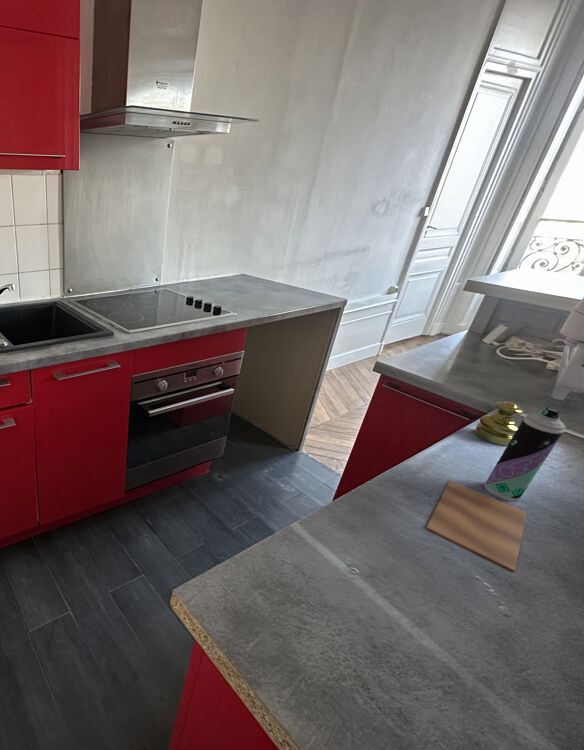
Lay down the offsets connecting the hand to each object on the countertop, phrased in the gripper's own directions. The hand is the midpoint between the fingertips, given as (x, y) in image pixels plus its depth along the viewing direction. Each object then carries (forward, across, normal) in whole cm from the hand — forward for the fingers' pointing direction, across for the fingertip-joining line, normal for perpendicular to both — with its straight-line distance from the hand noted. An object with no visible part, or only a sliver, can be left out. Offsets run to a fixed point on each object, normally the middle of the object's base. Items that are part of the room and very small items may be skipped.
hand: (557, 396), depth 81 cm
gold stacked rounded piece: (+20, +18, +4) cm, 28 cm away
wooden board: (+20, -22, +2) cm, 30 cm away
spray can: (+20, -7, 0) cm, 22 cm away
